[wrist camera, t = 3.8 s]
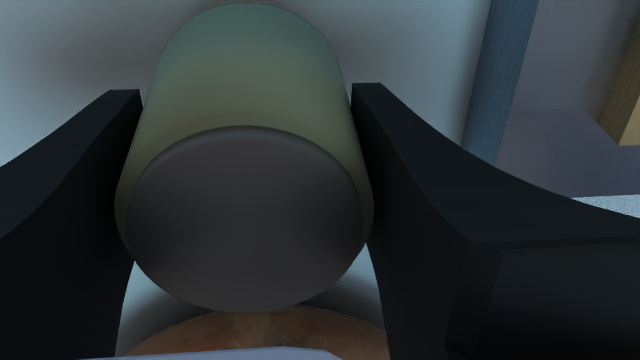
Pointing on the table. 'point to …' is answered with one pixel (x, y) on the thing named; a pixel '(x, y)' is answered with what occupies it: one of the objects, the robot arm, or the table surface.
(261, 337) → the ceramic jug
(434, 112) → the table surface
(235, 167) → the oil can
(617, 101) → the grey square base
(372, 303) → the table surface
